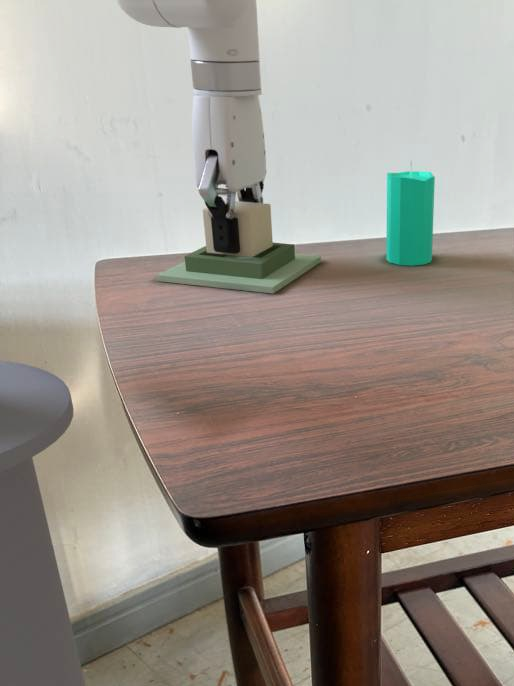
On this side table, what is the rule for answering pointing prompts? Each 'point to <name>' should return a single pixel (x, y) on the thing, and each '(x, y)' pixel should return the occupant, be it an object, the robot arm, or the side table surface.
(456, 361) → the side table surface
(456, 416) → the side table surface
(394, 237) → the candle
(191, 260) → the base pad
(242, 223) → the beige cube block
